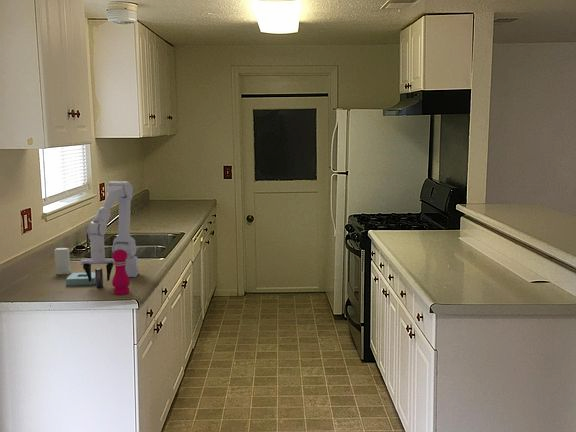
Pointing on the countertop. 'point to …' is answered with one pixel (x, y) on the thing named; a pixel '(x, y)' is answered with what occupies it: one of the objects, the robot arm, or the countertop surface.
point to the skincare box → (62, 261)
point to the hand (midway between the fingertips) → (99, 280)
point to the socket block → (80, 279)
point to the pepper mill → (120, 272)
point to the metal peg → (99, 277)
